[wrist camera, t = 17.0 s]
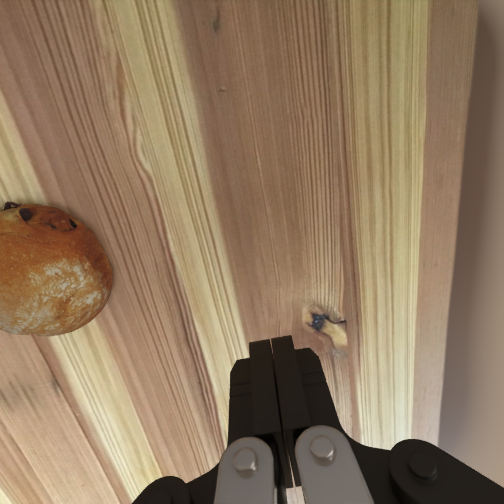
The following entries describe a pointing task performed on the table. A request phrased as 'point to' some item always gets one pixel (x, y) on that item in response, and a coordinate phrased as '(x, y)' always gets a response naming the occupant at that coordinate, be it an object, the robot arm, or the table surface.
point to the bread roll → (49, 271)
